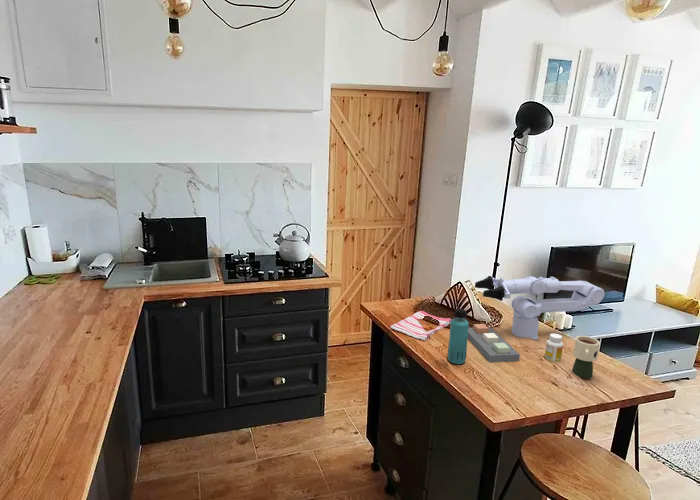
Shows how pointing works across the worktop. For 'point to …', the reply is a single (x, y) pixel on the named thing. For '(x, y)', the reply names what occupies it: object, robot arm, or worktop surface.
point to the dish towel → (418, 325)
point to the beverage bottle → (458, 337)
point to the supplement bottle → (554, 348)
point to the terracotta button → (480, 328)
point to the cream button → (490, 338)
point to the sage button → (501, 348)
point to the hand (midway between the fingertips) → (479, 289)
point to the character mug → (585, 356)
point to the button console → (488, 347)
